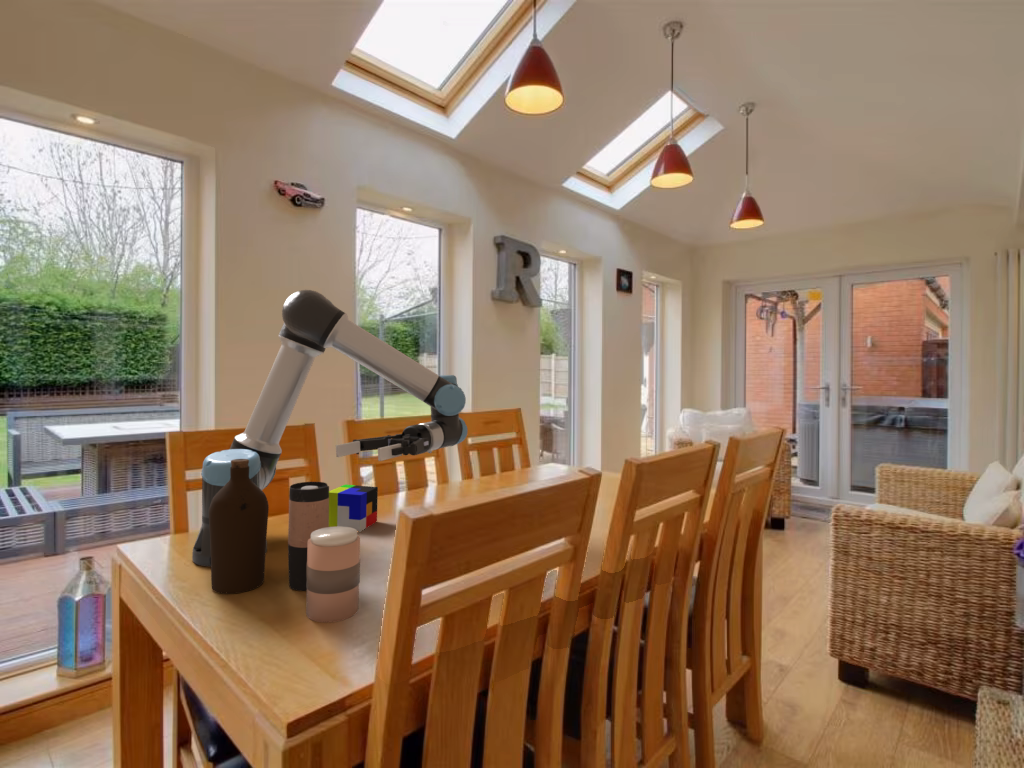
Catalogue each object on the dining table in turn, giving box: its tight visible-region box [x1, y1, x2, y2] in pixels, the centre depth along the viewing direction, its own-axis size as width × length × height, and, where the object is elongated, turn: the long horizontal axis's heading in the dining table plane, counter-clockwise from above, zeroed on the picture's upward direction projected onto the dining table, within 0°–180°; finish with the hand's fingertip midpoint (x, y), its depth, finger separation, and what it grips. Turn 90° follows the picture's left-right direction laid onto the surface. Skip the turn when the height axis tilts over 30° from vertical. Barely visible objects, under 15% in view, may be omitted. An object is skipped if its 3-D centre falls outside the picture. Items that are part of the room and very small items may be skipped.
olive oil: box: [209, 459, 270, 595], centre depth 108 cm, size 11×11×25 cm
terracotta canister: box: [305, 526, 361, 623], centre depth 98 cm, size 9×9×14 cm
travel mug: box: [287, 481, 330, 592], centre depth 109 cm, size 8×8×20 cm
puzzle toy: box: [329, 484, 379, 533], centre depth 149 cm, size 10×10×10 cm
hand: (357, 452), depth 121 cm, fingers open, 13 cm apart
